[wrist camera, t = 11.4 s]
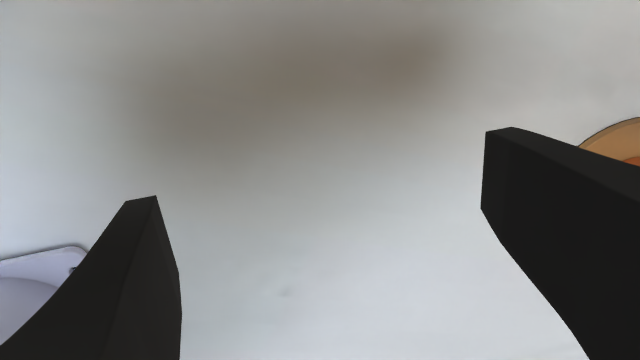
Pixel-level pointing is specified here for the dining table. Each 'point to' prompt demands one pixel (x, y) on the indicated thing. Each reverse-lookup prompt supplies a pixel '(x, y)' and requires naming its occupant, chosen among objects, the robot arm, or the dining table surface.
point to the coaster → (617, 141)
